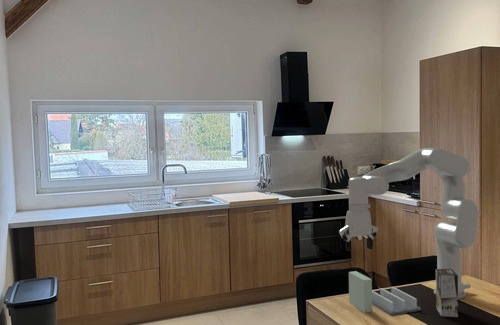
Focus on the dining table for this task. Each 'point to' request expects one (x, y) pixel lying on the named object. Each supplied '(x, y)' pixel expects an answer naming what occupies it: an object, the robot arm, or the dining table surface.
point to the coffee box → (447, 292)
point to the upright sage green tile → (360, 291)
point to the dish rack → (394, 301)
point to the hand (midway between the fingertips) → (359, 249)
